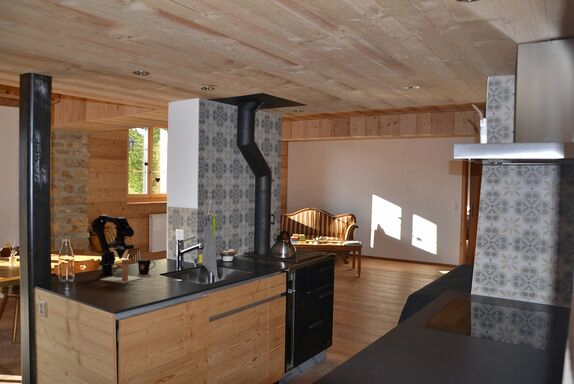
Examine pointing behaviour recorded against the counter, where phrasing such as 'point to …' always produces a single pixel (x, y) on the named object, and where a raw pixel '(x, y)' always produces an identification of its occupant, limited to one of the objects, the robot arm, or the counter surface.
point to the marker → (125, 270)
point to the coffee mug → (144, 266)
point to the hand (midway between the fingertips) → (120, 258)
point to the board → (120, 278)
